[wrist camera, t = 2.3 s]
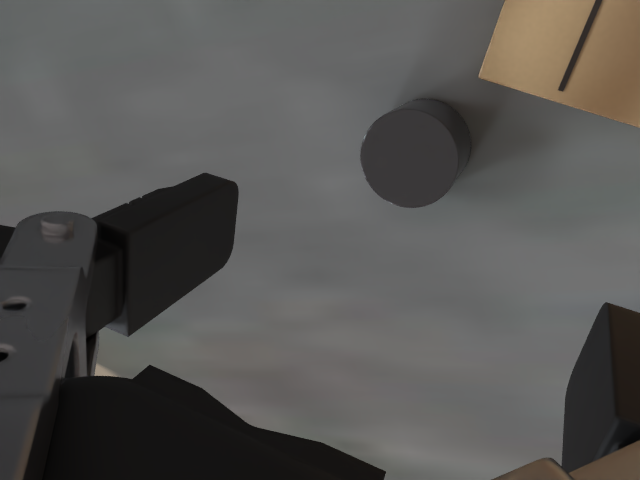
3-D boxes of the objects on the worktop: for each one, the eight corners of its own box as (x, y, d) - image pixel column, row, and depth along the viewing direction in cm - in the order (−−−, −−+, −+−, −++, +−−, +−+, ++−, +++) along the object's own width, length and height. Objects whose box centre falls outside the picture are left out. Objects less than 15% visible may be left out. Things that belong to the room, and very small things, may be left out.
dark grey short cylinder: (370, 171, 30) (349, 187, 28) (395, 86, 28) (374, 95, 26) (453, 202, 29) (439, 222, 27) (485, 115, 27) (473, 128, 24)
